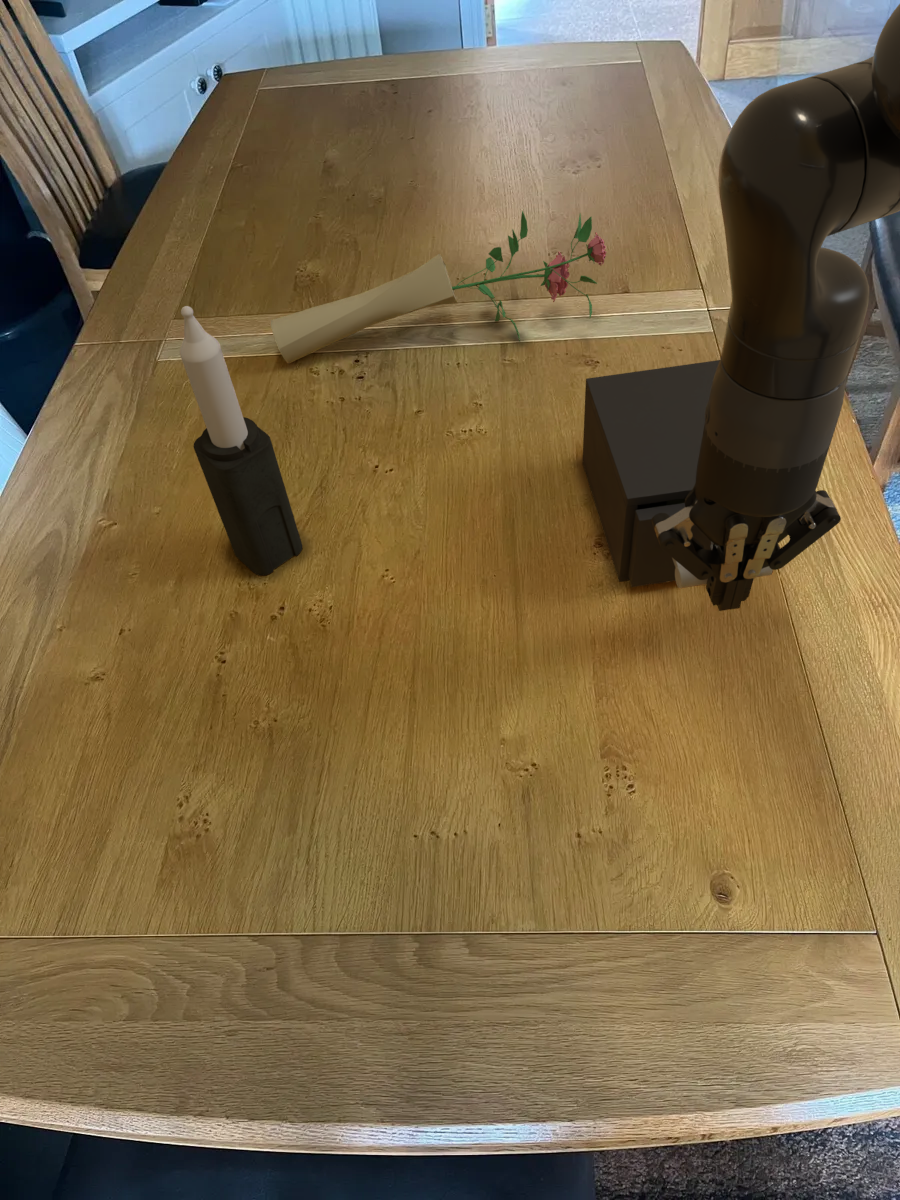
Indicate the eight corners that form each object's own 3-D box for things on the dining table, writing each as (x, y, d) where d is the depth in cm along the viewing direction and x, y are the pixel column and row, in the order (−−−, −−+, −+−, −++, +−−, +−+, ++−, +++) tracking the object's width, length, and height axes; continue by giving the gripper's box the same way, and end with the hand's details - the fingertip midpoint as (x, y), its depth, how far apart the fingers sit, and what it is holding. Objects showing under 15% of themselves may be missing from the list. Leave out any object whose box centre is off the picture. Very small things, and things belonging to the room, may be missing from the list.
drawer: (789, 608, 74) (811, 541, 68) (644, 629, 74) (653, 563, 68) (720, 456, 85) (734, 387, 79) (595, 474, 85) (599, 406, 79)
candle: (274, 520, 86) (196, 277, 67) (308, 548, 83) (236, 304, 64) (229, 550, 84) (134, 309, 65) (261, 580, 82) (173, 338, 62)
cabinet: (769, 560, 78) (793, 475, 71) (619, 582, 78) (627, 498, 71) (716, 444, 88) (733, 357, 80) (582, 463, 88) (585, 378, 80)
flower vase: (316, 393, 109) (605, 287, 105) (310, 435, 99) (629, 319, 94) (272, 296, 103) (578, 179, 98) (261, 331, 93) (601, 202, 88)
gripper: (679, 480, 54) (651, 653, 68) (901, 448, 55) (830, 627, 68) (646, 398, 59) (626, 576, 73) (851, 370, 59) (793, 552, 73)
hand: (725, 600), depth 70 cm, fingers closed
